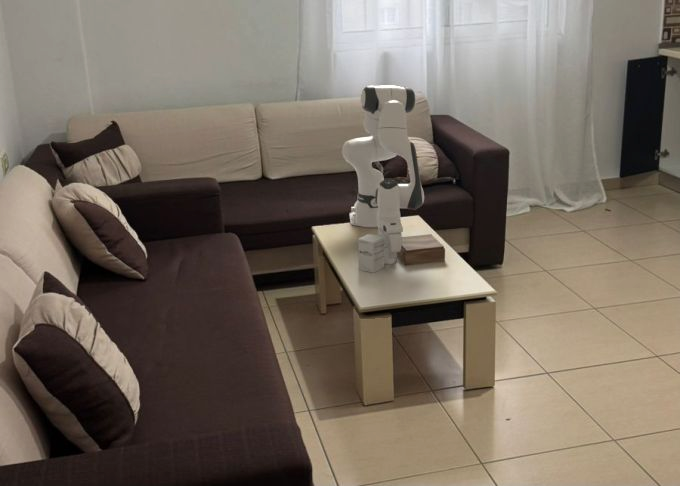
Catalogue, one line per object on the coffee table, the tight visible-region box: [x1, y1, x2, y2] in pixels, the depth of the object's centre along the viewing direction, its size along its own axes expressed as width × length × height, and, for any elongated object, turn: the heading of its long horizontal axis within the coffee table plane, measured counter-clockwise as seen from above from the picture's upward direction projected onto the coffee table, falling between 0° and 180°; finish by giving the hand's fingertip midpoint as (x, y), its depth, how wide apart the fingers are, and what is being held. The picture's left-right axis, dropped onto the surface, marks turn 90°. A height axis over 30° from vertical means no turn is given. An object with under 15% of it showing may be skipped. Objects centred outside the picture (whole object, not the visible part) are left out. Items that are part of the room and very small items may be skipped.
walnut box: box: [397, 233, 446, 266], centre depth 341 cm, size 16×16×6 cm
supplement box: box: [358, 233, 385, 274], centre depth 329 cm, size 7×7×13 cm
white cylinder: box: [384, 244, 398, 265], centre depth 336 cm, size 7×7×7 cm
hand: (388, 255), depth 337 cm, fingers closed on white cylinder, 5 cm apart
